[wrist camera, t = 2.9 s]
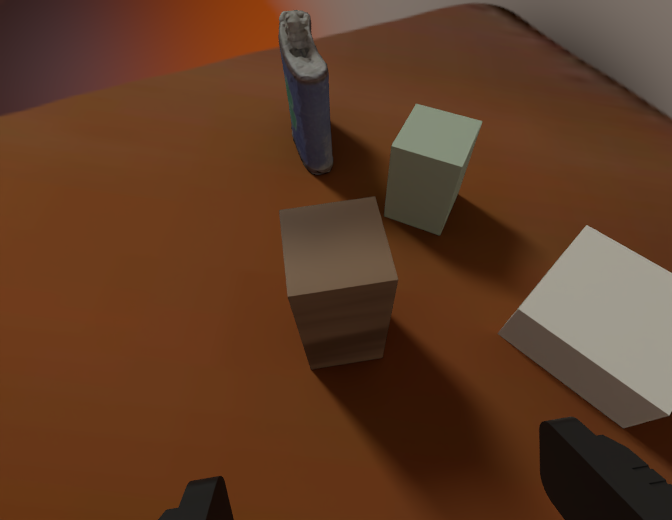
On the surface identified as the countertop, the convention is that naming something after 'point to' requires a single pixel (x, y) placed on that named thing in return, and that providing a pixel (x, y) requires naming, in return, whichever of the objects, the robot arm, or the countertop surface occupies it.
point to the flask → (306, 91)
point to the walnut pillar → (339, 280)
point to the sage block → (428, 167)
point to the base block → (602, 328)
